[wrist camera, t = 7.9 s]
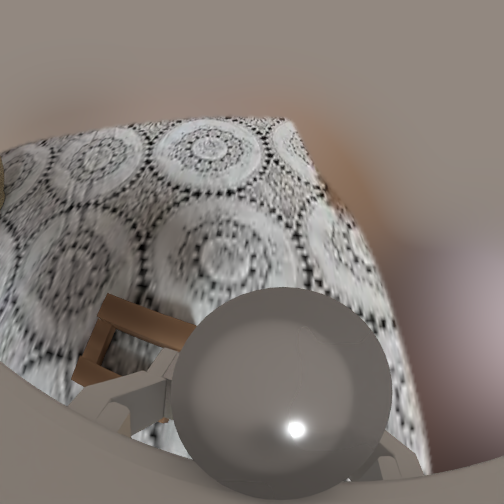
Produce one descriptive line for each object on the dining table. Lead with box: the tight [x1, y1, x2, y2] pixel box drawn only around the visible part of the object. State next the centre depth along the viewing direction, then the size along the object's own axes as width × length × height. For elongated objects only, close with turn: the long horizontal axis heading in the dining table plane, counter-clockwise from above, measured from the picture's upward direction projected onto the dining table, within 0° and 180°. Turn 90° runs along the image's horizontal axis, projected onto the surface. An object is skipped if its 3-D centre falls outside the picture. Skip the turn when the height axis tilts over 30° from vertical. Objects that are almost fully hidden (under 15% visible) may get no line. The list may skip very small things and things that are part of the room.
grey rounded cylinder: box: [171, 287, 392, 500], centre depth 10 cm, size 4×4×13 cm
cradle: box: [71, 293, 197, 423], centre depth 28 cm, size 11×12×3 cm
